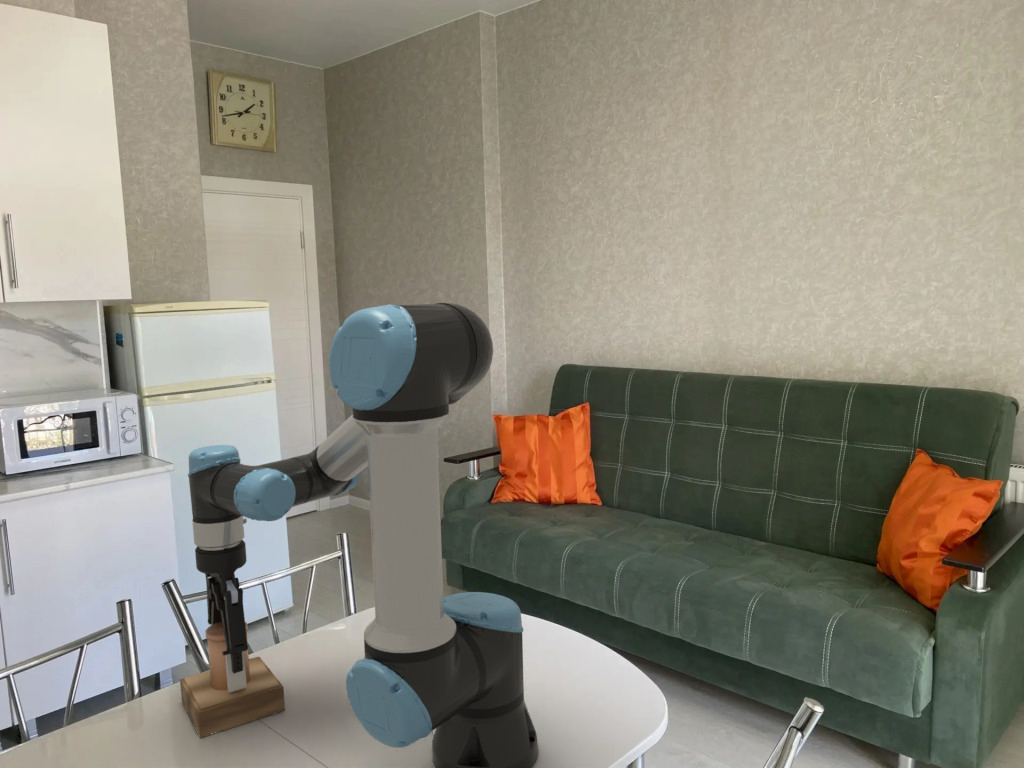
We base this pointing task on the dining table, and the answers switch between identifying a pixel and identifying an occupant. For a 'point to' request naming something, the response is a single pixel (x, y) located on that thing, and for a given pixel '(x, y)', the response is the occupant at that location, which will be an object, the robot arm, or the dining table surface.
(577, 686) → the dining table surface
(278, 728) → the dining table surface
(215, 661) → the canister
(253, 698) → the stand
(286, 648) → the dining table surface
